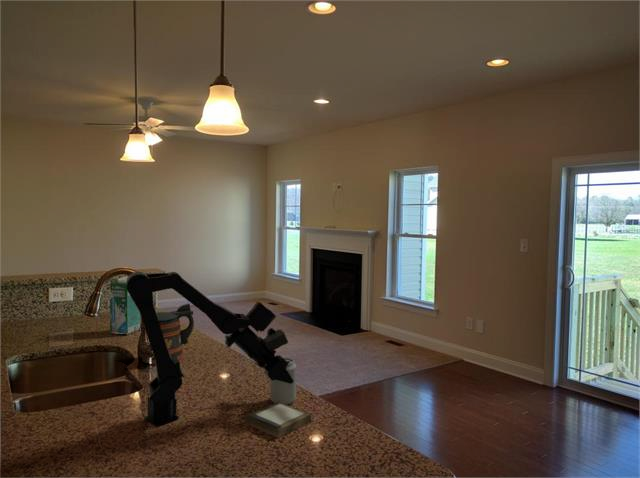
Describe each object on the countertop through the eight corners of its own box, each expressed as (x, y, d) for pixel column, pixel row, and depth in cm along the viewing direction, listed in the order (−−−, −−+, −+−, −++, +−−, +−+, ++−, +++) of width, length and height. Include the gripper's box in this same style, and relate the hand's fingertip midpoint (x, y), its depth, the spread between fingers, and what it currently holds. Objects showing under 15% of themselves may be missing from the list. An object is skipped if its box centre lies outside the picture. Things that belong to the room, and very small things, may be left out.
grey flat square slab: (278, 438, 112) (278, 427, 112) (245, 423, 120) (245, 413, 120) (310, 421, 121) (311, 412, 121) (278, 409, 129) (278, 399, 129)
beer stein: (185, 349, 185) (185, 299, 184) (199, 358, 173) (199, 305, 172) (136, 357, 173) (135, 304, 172) (147, 368, 162) (147, 311, 161)
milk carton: (110, 333, 206) (109, 278, 205) (124, 329, 215) (123, 275, 214) (127, 335, 204) (126, 279, 202) (140, 331, 212) (140, 276, 211)
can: (292, 407, 130) (292, 365, 130) (266, 404, 132) (267, 363, 131) (298, 397, 138) (299, 357, 137) (274, 394, 139) (274, 355, 139)
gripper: (281, 329, 123) (318, 366, 128) (261, 315, 141) (295, 348, 145) (252, 362, 121) (291, 398, 126) (235, 343, 138) (271, 375, 143)
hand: (287, 377), depth 135 cm, fingers closed on can, 7 cm apart
